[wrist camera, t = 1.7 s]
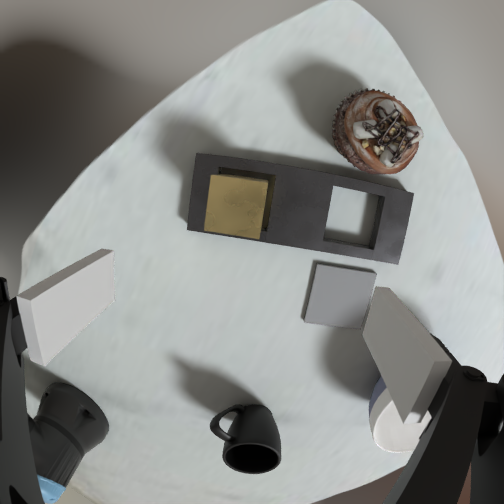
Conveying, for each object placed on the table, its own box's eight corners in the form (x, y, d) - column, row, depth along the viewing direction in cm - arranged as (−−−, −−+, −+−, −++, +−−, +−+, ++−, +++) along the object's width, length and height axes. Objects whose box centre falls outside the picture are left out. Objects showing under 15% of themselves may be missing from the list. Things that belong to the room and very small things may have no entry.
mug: (243, 374, 43) (236, 419, 34) (290, 418, 45) (292, 462, 36) (203, 397, 45) (190, 440, 35) (251, 437, 47) (247, 479, 37)
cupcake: (411, 129, 33) (451, 119, 23) (372, 189, 35) (406, 196, 26) (351, 82, 32) (376, 55, 22) (309, 142, 35) (323, 132, 25)
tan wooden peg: (221, 215, 37) (203, 230, 28) (226, 174, 36) (211, 174, 26) (262, 221, 37) (259, 239, 28) (268, 180, 36) (268, 182, 26)
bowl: (338, 396, 43) (348, 440, 34) (405, 319, 39) (433, 354, 30) (401, 422, 45) (417, 459, 35) (461, 357, 41) (488, 389, 32)
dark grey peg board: (191, 227, 38) (186, 230, 36) (200, 154, 36) (196, 153, 34) (392, 260, 37) (398, 264, 35) (407, 191, 35) (413, 193, 33)
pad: (303, 320, 40) (304, 322, 40) (316, 263, 38) (317, 264, 37) (359, 327, 40) (360, 329, 39) (375, 272, 38) (376, 273, 37)
